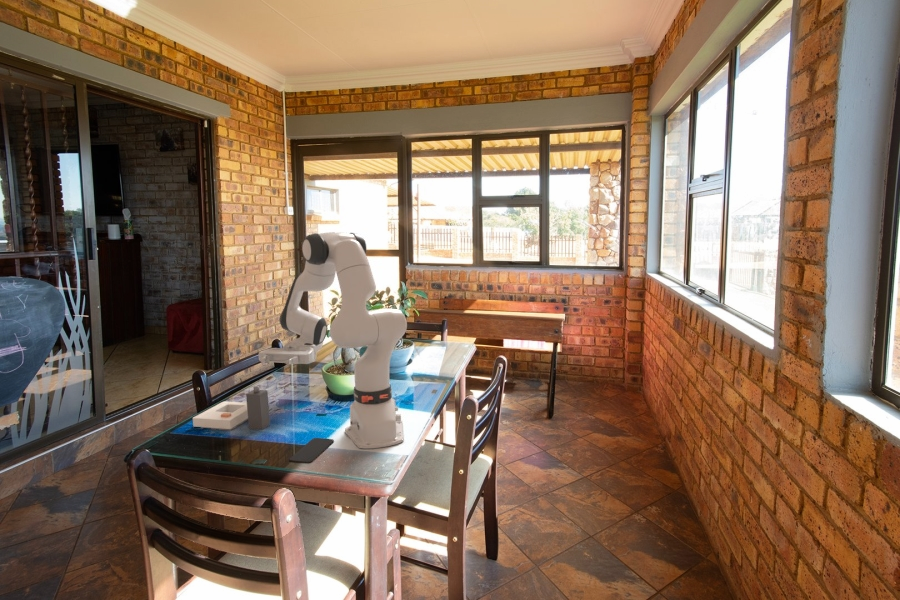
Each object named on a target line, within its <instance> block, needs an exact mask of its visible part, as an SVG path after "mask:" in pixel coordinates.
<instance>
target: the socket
mask: <svg viewBox="0 0 900 600" xmlns="http://www.w3.org/2000/svg"><path fill="white" fill-rule="evenodd" d="M247 421H248V411H247V402H242V401H240V402H239V401H227V400H226V401H225V400H224V401H222V402H220V403H218V404H216V405H214V406H212V407H210V408H208V409H207V410H204V411H202V412H200V413H199V414H197V415H195V416H194V417H192V425H193V428H194V427H201V428H200V429H203V428H211V429H210V430H216V429H219V430H218V431H230V432H231V431H232V430H234V429H235V428H237V427H239V426H240V425H242V424H243V423H245V422H247Z"/></svg>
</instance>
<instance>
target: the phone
mask: <svg viewBox="0 0 900 600" xmlns="http://www.w3.org/2000/svg"><path fill="white" fill-rule="evenodd" d="M334 442H335V439H333V438H323V437H322V438H321V437H313V438H312V439H310V440H308V441H307V443H305V444H304V445H303V446H302V447H301V448H300V449H298V450H297V452H295V453H294V454H293V455H291V457H289V461H290V462H292V463H300V464H301V463H303V464H304V463H305V464H312V463H313V462H315V460H317V459H318V458H319V457H320V456H321V455H322V454H323V453H324V452H326V451H327V449H328V448H330V447H331V446H332V445H333V444H334Z"/></svg>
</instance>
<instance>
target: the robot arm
mask: <svg viewBox="0 0 900 600" xmlns="http://www.w3.org/2000/svg"><path fill="white" fill-rule="evenodd" d="M301 249H302V250H301V251H302V256H303V258H304V260H305V265H304V269H303V272H299V273H298V274H296V276H295V277H294V280H293V282H292V284H291V287H290V290H289V293H288V296H287V298H286V301H285V305H284V307H283V309H282V311H281V313H280V315H279V324H280V327H281V329H283V330H285V331H288V332H290V333H294V334H295V335H299V337H297V338H295V339H293V340H291V341H287V343H285V344H284V345H283V347H282V348H278V347H271V348H266V349H264V350H261V351H258V360H259V362H261V364H268V363H277V364H278V363H282V364H283V363H284V364H285V365H288V366H289V365H290V366H291V365H298V364H299V365H301V364H302V365H309V364H312V363H314V362H316V361H317V354H318V352H319V351H320V350H321V349H322V347H323V344H324V340H325V339H326V336H327V334H328V324H327V320H326V319H325V318H324V317H323V316H319V315H317V314H315V313H312V312H310V311H307V310H305V309H303V308H302V307H301V306H300V304H301V303H300V302H301V300H302V297H303V295H304V294H303V293H305V292H312V293H313V292H314V293H315V292H316V293H317V292H320V291H326V290H328V288H330V287H331V286H332V285H333V283H334V280H335V277H336V276H337V280H338V281H337V282H338V285H339V288H340V294H341V305H340V309H339V312H338V314H337V315H336V316H335V317H334V318H333V320H332V321H331V323H330V327H329V335H330V338H331V340H332V342H333V343H334V345H336V346H337V347H338V348H341V349H357V348H361V347H363V346H368V347H367V350H366V351H365V353H364V354H363V355H362V356H361V357H360V356H359V357H358V359H357V360H355V363H354V366H353V375H354V387H353V399H354V401H353V402H352V403H351V404H350V406H349V422H350V425H349V426H347V427H345V428H344V433H346V435H347V436H348V438H349V439H350V440H351V441H352V442H353V443H354V444H355V445H356V447H358V449H379V448H385V447H390V446H394V445H398V444H401V443H403V442H404V441H405V439H404V436H405V435H404V423H403V420H402V416H401V415H402V414H400V413H397V412H399V406H396V399H394V398H393V394H392V393H393V391H392V386H391V384H390V363H391V359H392V354H393V351H394V349H395V347H396V345H397V344H398V342H399V341H400V339H402V337H403V336H404V335H405V333H406V331H407V327H408V321H407V319H406V318H407V317H406V316H405V314H404V313H403V311H401V309H398V308H397V309H396V308H391V307H390V308H389V307H385V308H384V307H383V308H378V309H371V310H368V308H367V301H369V300H370V299H371V298H373V296H374V294H375V292H376V289H377V286H376V285H377V284H376V283H375V279H374V276H373V272H372V268H371V265H370V262H369V260H368V256H367V243H366V240H365V238H364V237H363V236H362V235H361V234H359V233H355V232H348V233H347V232H335V231H331V232H322V233H321V232H320V233H317V232H316V233H311V234H308V235H306V236H305V238H304V239H303V241H302V245H301ZM396 413H397V414H396Z"/></svg>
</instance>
